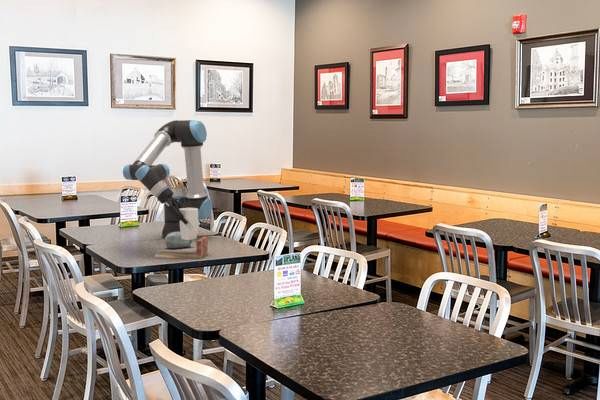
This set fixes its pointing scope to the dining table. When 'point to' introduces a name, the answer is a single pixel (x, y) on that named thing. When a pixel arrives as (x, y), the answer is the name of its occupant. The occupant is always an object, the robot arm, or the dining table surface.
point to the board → (198, 254)
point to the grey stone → (176, 241)
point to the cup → (193, 218)
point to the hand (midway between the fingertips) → (195, 227)
